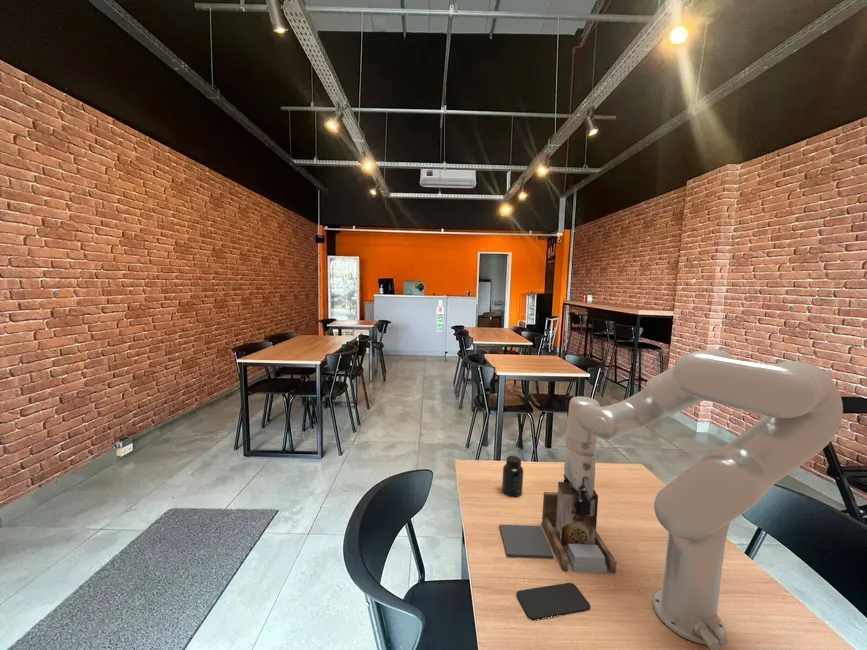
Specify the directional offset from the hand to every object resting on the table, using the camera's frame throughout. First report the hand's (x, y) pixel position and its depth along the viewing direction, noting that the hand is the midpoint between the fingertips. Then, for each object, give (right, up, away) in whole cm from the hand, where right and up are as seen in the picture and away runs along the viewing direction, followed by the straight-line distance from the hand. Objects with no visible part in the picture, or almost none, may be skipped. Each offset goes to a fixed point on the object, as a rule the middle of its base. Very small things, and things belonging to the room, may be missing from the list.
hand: (574, 503), depth 100 cm
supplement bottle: (-12, -9, +26) cm, 29 cm away
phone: (-12, -13, -18) cm, 26 cm away
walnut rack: (0, -12, 0) cm, 12 cm away
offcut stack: (0, -12, -7) cm, 14 cm away
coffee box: (0, -12, +1) cm, 12 cm away
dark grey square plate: (-14, -11, +1) cm, 17 cm away
